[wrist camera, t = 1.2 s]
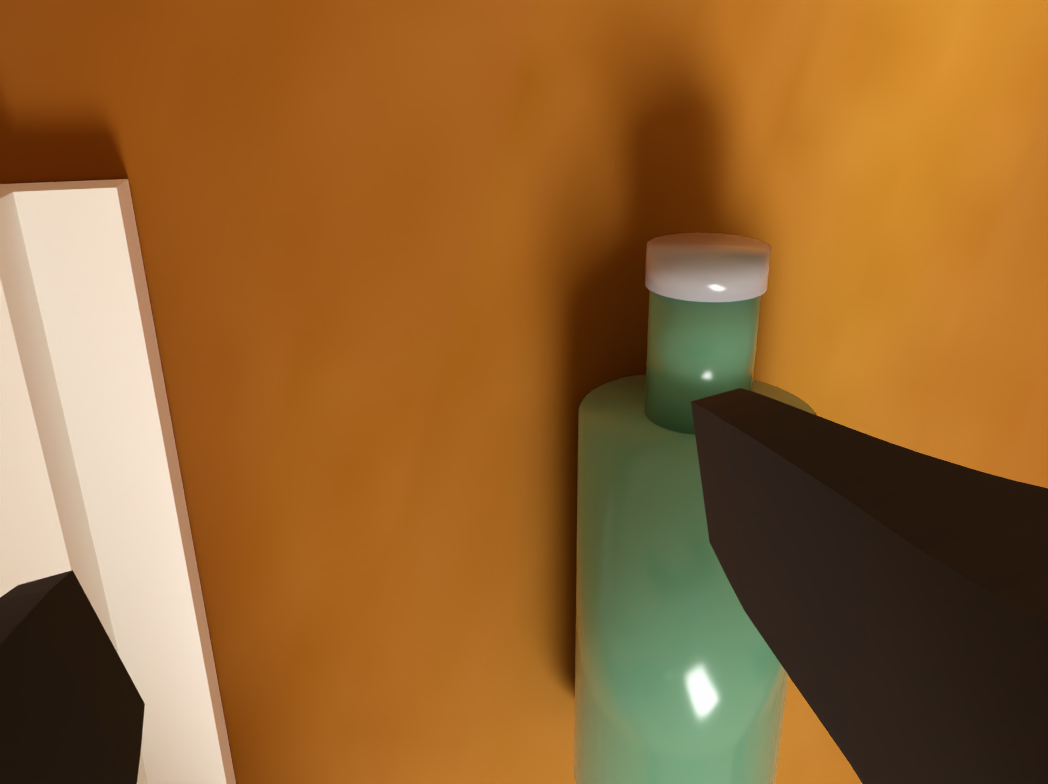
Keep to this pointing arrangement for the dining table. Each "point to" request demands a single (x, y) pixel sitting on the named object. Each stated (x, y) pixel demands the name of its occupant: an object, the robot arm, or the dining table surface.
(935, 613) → the robot arm
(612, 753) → the green bottle
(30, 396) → the bottle cradle
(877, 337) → the dining table surface
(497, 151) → the dining table surface
